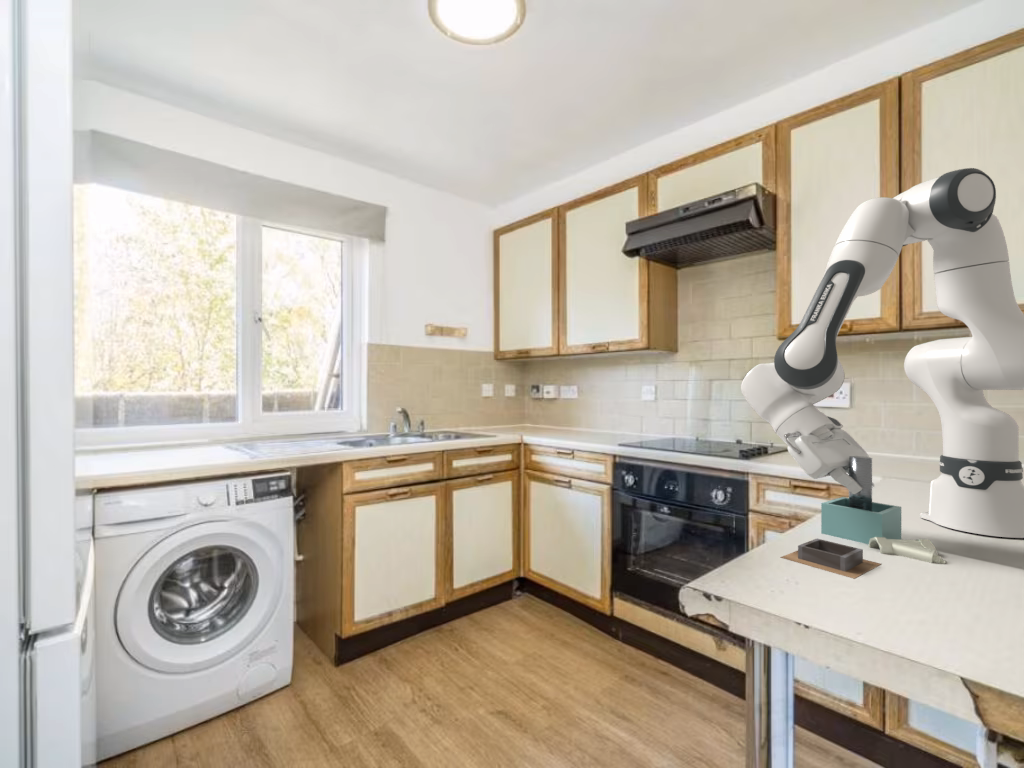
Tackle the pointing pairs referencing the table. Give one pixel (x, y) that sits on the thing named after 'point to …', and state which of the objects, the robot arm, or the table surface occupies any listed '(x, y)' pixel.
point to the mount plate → (832, 558)
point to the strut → (861, 482)
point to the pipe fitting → (907, 548)
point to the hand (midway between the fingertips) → (864, 490)
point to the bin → (860, 521)
